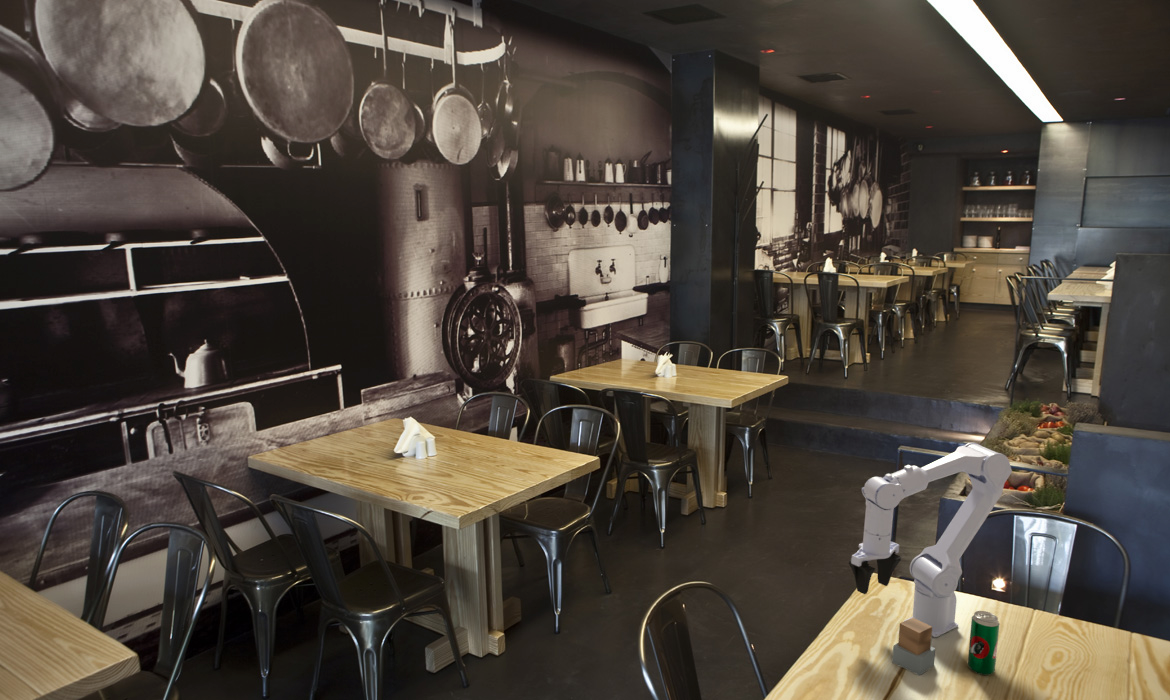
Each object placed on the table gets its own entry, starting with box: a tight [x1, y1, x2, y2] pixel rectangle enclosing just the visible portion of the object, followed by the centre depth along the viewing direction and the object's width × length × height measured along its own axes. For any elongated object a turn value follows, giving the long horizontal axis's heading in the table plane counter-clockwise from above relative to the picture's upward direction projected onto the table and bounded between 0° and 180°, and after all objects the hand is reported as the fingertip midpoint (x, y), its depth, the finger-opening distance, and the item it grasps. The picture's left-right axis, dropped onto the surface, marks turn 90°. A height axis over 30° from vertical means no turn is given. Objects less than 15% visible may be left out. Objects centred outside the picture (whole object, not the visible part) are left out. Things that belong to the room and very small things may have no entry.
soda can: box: [967, 610, 1000, 676], centre depth 154 cm, size 5×5×12 cm
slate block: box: [891, 642, 936, 677], centre depth 156 cm, size 6×6×4 cm
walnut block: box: [897, 617, 932, 655], centre depth 156 cm, size 4×4×5 cm
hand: (872, 588), depth 168 cm, fingers open, 7 cm apart
